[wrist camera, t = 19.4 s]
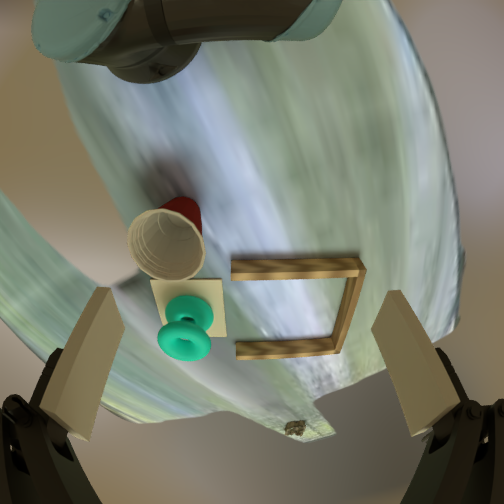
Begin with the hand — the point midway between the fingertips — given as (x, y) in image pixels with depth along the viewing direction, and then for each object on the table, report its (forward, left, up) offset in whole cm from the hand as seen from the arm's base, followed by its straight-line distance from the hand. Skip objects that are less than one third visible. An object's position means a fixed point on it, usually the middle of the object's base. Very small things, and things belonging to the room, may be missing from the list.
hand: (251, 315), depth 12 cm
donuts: (+2, -32, -32) cm, 45 cm away
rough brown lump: (+57, -80, -32) cm, 103 cm away
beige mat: (+2, -32, -32) cm, 45 cm away
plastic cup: (-6, -12, -32) cm, 35 cm away
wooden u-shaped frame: (+21, -23, -32) cm, 44 cm away
